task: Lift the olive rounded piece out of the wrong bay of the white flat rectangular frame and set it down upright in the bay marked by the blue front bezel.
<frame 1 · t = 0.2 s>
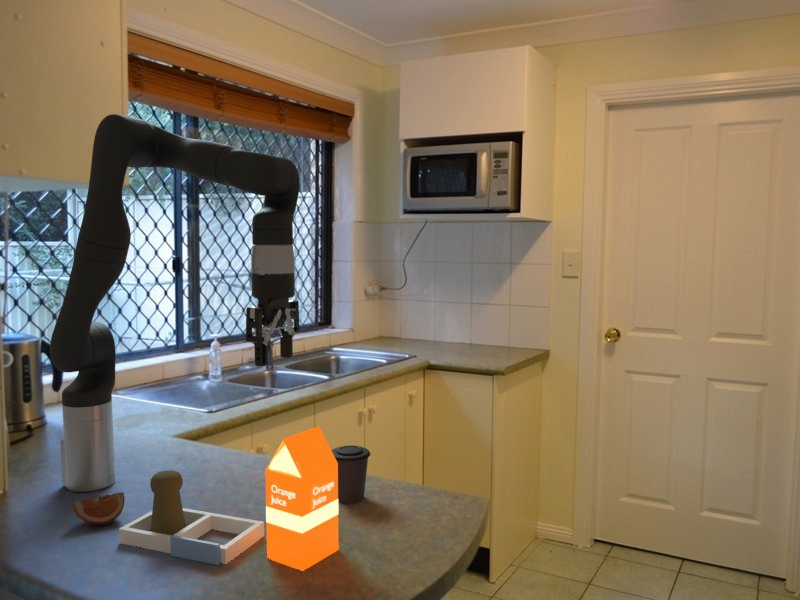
hand: (274, 361, 124), 29 cm above the worktop, tool pointing down, fingers open, 8 cm apart
olive rounded piece: (168, 536, 118), resting in white flat rectangular frame
fruit slice: (99, 523, 124), on the worktop
coffee cup: (350, 499, 135), on the worktop
orange juice: (303, 555, 111), on the worktop
white flat rectangular frame: (192, 539, 117), on the worktop
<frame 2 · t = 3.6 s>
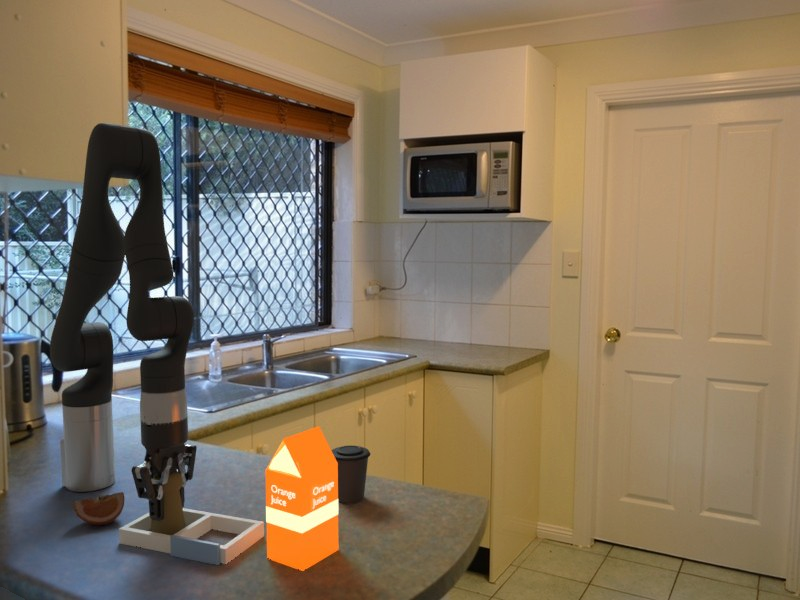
hand: (167, 513, 118), 4 cm above the worktop, tool pointing down, fingers closed on olive rounded piece, 4 cm apart
olive rounded piece: (168, 536, 118), resting in white flat rectangular frame, touching gripper
everything else where it was.
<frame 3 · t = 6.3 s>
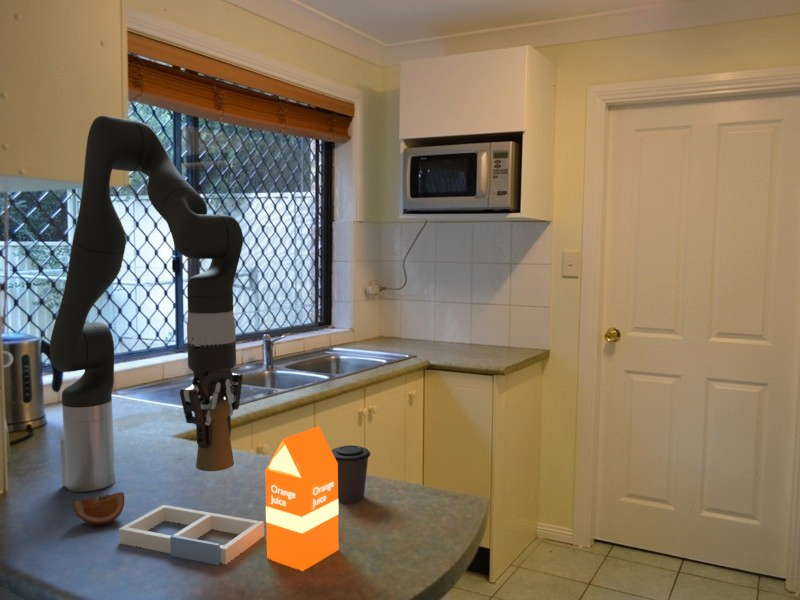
hand: (214, 442, 113), 17 cm above the worktop, tool pointing down, fingers closed on olive rounded piece, 4 cm apart
olive rounded piece: (215, 466, 114), point 13 cm above the worktop, touching gripper
everything else where it was.
when the fingers open (5 cm above the worktop, at t = 9.2 s): olive rounded piece drops 1 cm, resting in white flat rectangular frame.
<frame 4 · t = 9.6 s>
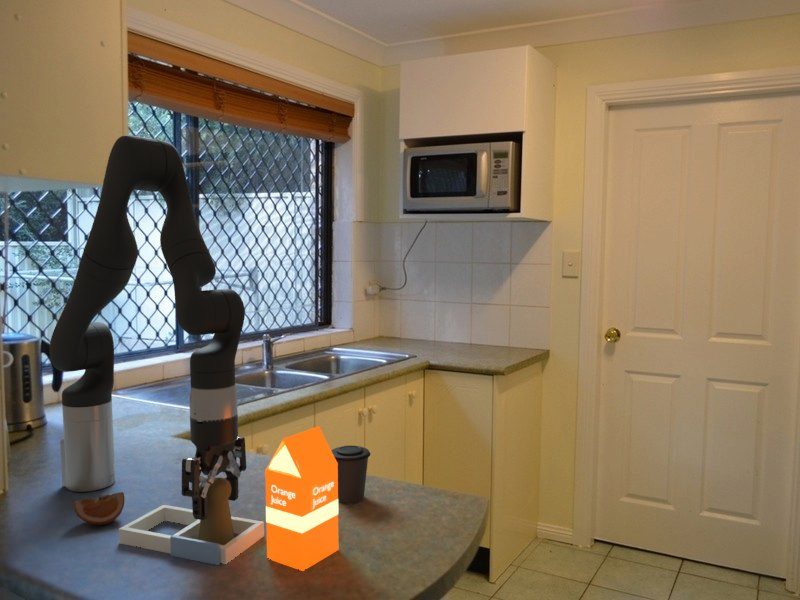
hand: (216, 508, 114), 6 cm above the worktop, tool pointing down, fingers open, 8 cm apart
olive rounded piece: (216, 545, 115), resting in white flat rectangular frame
everything else where it was.
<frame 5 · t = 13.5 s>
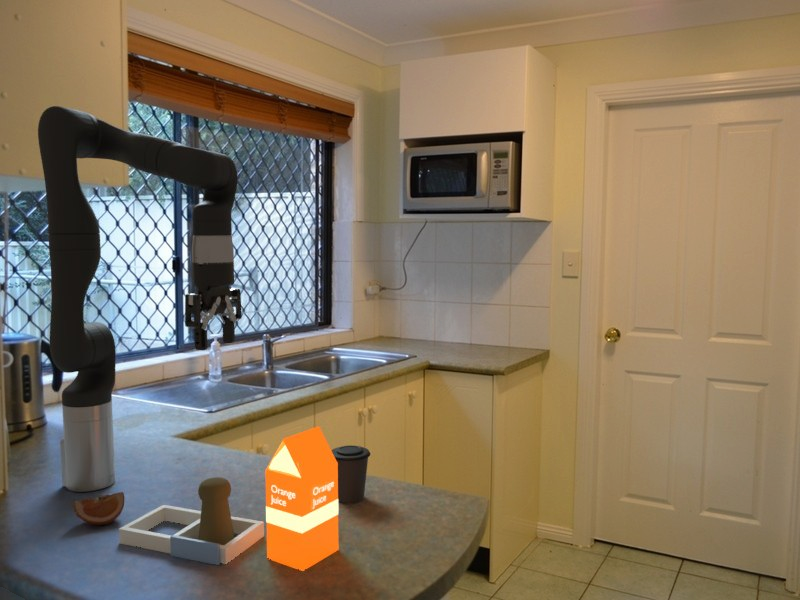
hand: (215, 346, 131), 30 cm above the worktop, tool pointing down, fingers open, 8 cm apart
nothing on the worktop moved.
at the end: olive rounded piece inside the target area (0.2 cm from its centre), resting in white flat rectangular frame; olive rounded piece tilted 0°; the gripper is holding nothing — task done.
